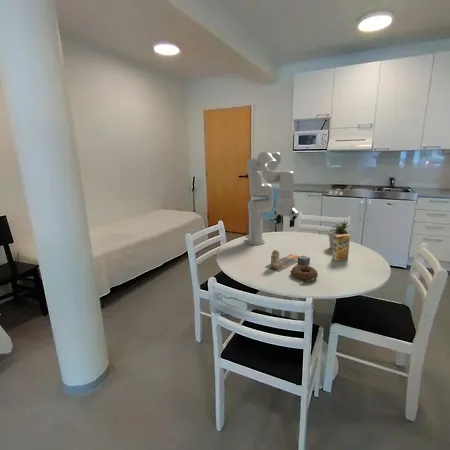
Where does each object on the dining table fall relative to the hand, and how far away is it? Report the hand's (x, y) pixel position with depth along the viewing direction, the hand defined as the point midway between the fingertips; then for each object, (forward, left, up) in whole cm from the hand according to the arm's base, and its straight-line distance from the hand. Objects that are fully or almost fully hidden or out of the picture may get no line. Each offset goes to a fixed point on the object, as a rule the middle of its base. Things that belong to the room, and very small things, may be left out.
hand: (285, 225), depth 163 cm
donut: (+16, -4, -26) cm, 30 cm away
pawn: (-2, -6, -24) cm, 25 cm away
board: (-2, +5, -25) cm, 26 cm away
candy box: (+18, +34, -25) cm, 46 cm away
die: (+7, +10, -25) cm, 28 cm away
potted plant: (+9, +51, -25) cm, 57 cm away
